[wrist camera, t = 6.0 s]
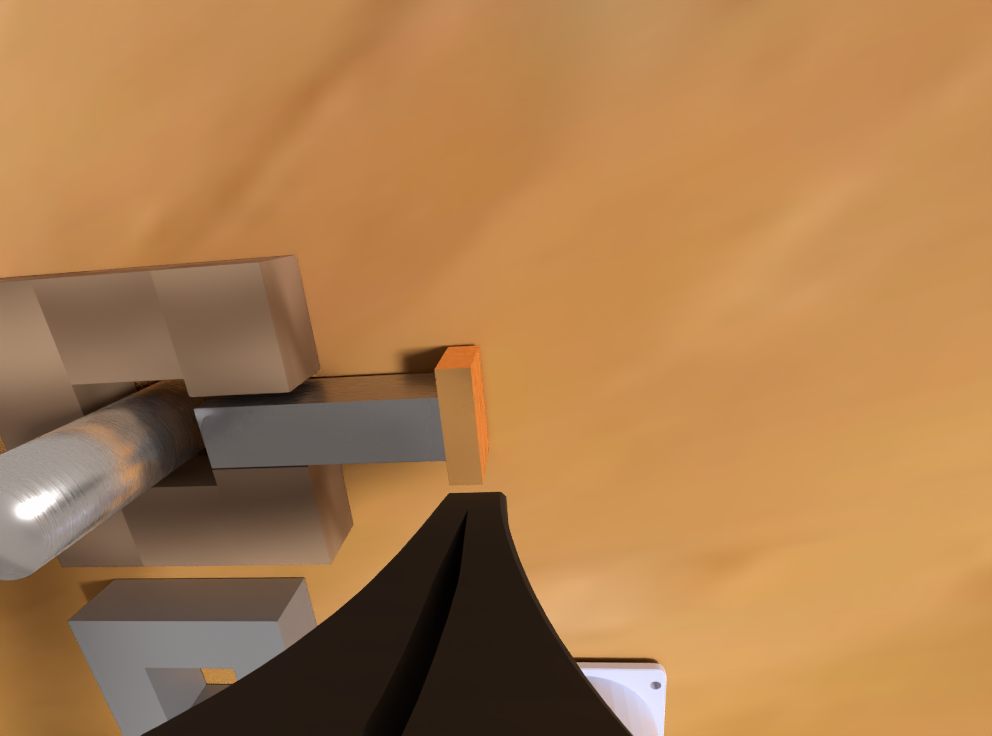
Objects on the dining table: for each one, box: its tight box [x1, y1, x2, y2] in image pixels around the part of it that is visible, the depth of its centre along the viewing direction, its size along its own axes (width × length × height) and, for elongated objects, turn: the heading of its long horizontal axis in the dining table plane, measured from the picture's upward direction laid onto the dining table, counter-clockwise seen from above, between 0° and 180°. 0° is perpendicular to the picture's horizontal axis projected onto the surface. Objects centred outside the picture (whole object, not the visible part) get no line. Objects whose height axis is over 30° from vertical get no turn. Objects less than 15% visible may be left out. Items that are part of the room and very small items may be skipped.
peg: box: [0, 379, 214, 580], centre depth 16 cm, size 3×3×8 cm
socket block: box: [0, 255, 353, 567], centre depth 19 cm, size 12×12×2 cm
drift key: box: [194, 345, 489, 485], centre depth 18 cm, size 4×10×3 cm, turn 94°
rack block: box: [68, 578, 317, 736], centre depth 23 cm, size 10×10×2 cm
